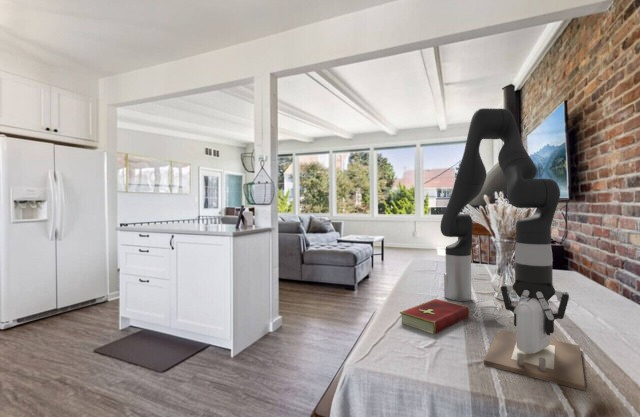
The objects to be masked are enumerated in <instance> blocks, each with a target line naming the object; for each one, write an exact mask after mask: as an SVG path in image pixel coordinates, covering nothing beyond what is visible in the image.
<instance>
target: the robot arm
mask: <svg viewBox="0 0 640 417" xmlns="http://www.w3.org/2000/svg"><path fill="white" fill-rule="evenodd" d="M482 140H501V141H502V142H503V145H502V146H501V148H500V150H499V152H498V159H497V160H498V165H499V168H500V169H501V172H502V173H503V175H504V177H505V180H506V181H505V182H506V196H507V201H508V202H509V204H510V205H511V206H513V207H515V208H518V209H535V211H534V213H533V214H532V215H531V216H528V217H523V218H519V219H518V220H516V222H515V248H514V283H513V284H508V285H507V284H505V283H504V284H502V285H501V287H500V291H501V294H502V300H503V303H504V304H503V305H504V306H505V307H504V308H505V310H507V311H509V312H512V313H513V325H514V327H516V309H517V306H518V304H519V303H520V302H521V301H522V300H523V299H526V298H528V297H529V298H530V299H532V298H535V299H537V300H538V301H539V302H540V303H541V305H542V307H543V310H544V311H545V313H546V315H547V318H546V335H550V336H551V334H554V332H555V320H563V319H564V317H565V314H566V310H567V307H568V302H569V299H570V295H569V294H570V293H569V292H567V291H564V292H563V291H559V290H556V289H555V287H554V284H553V280H554V279H553V262H554V259H553V251H552V224H553V221H554V216H555V214H556V210H557V207H558V205H559V202H560V198H561V190H560V187H559V185H558V183H557V182H556V181H555V180H554V179H552V178H536V175H537V174H538V171H537V167H536V166H537V165H535V162H533V160H532V158H531V156H530V155H529V153H528V152H527V150H526V149H525V146H524V144H523V141H522V137H521V134H520V131H519V128H518V125H517V122H516V119H515V117H514V115H513V113H512V112H511V110H509V109H508V108H507V109H506V108H493V107H492V108H488V107H486V108H481V107H480V108H478V109H476V110H475V111H474V113H473V115H472V117H471V120H470V124H469V128H468V133H467V136H466V141H465V147H464V151H463V155H462V158H461V161H460V164H459V168H458V171H457V173H456V177H455V179H454V183H453V187H452V191H451V194H450V198H449V199H448V203H447V205H446V207H445V210H444V212H443V215H442V218H441V221H440V225H439V226H440V232H441V235H443V236H444V237H445V238H446V237H447V238H458V239H457V240H456V241H455V242H454V243H452V244H449V245H447V246H445V250H444V252H445V273H444V274H443V282H444V283H443V284H444V285H443V287H444V288H443V289H444V291H443V295H444V296H443V298H446V299H448V300H452V301H455V302H456V301H457V302H458V301H459V302H468V301H471V300H472V247H473V233H474V232H473V231H474V230H473V227H474V225H473V219H472V217H471V215H470V214H468V213H463V212H462V213H460V212H461V211H462V210H463V209H464V208H465V207H466V206H467V205H469V204H471V203H472V201H473V200H475V199H476V198H477V197H478V196H479V195H480V194H481V192H482V190H483V187H484V185H485V181H486V180H487V179H486V178H487V170H486V167H485V165H484V162H483V159H482V157H481V153H480V146H481V142H482ZM512 290H513V291H514V292H515V293H516V295H517V296H518V297H519V299H518V302H517V304H516V305H514V304H512V300H511V294H512ZM554 296H556V299H557V301H558V302H559V305H558V307H557V311H553V309H552V307H551V304H550V302H549V301H550V299H551V298H553V297H554Z"/></svg>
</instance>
